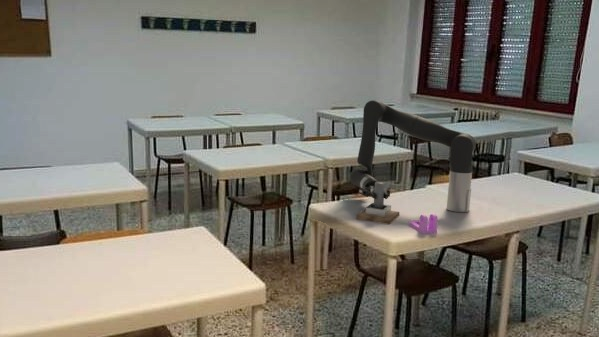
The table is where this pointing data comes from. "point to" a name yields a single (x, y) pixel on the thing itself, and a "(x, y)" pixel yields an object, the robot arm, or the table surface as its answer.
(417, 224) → the bracket
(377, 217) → the socket board
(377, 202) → the peg
